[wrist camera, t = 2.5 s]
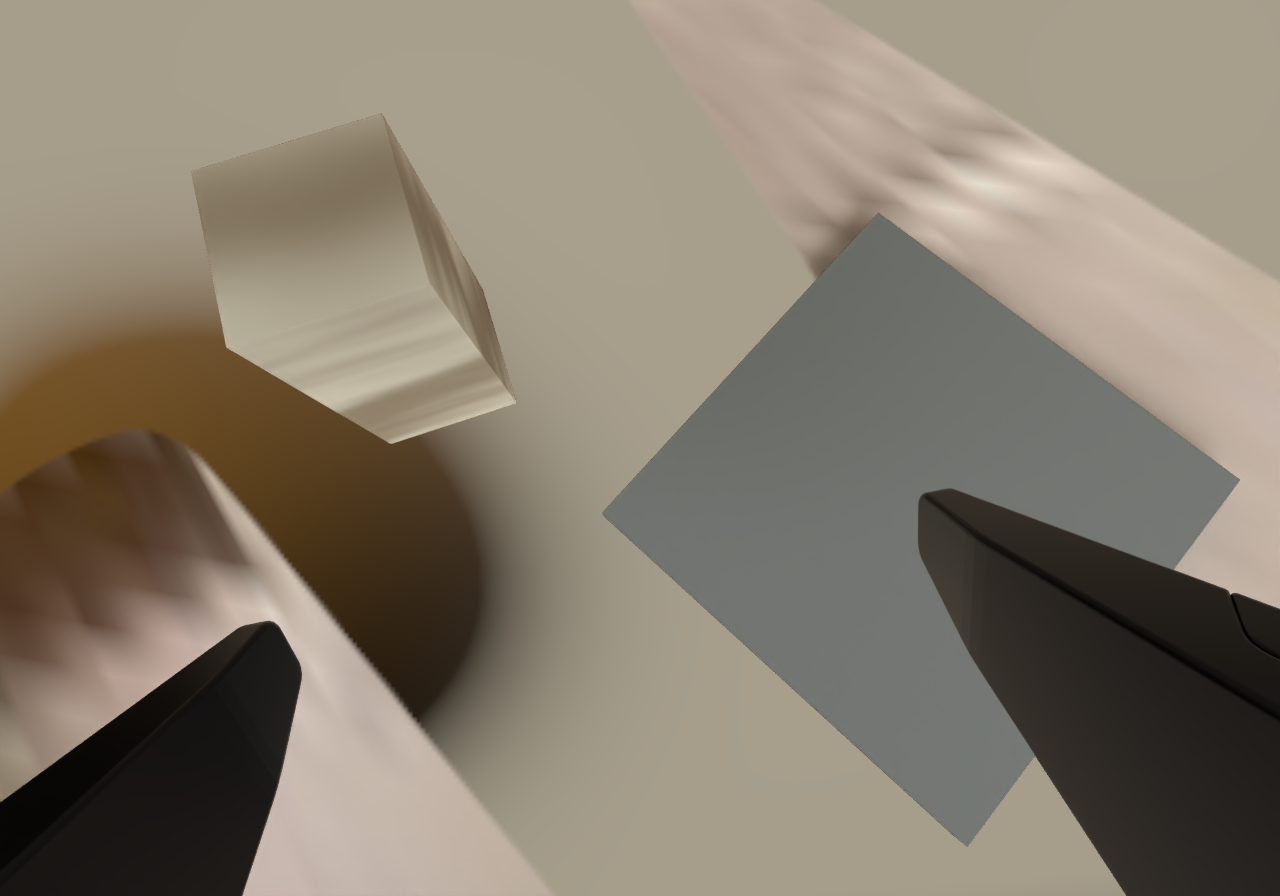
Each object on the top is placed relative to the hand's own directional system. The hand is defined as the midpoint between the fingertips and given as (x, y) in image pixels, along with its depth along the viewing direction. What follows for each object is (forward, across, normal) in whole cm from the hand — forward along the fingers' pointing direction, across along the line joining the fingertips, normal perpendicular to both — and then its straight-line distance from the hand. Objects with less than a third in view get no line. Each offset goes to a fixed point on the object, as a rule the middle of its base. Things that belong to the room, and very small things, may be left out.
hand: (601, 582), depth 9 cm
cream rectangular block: (+16, +6, +1) cm, 17 cm away
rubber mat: (+11, -9, +7) cm, 16 cm away
